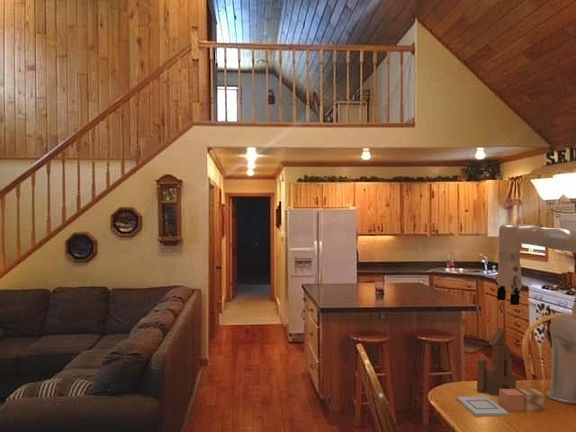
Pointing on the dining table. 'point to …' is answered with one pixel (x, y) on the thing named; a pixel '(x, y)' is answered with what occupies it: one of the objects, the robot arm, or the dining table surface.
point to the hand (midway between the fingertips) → (507, 302)
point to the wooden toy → (496, 368)
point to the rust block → (511, 399)
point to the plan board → (482, 406)
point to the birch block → (532, 399)
